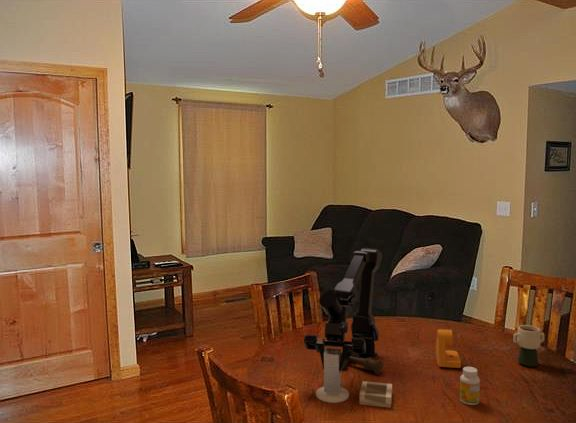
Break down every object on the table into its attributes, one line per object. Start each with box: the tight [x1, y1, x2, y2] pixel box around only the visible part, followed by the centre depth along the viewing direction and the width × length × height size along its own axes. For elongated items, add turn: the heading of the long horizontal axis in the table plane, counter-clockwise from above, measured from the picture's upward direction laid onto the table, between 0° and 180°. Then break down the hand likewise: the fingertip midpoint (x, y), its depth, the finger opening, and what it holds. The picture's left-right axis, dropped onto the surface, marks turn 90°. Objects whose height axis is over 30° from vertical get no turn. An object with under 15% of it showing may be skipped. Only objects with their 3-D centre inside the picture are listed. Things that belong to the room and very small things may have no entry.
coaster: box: [315, 386, 350, 404], centre depth 145 cm, size 10×10×1 cm
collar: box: [359, 380, 393, 408], centre depth 142 cm, size 9×9×3 cm
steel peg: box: [323, 347, 342, 394], centre depth 145 cm, size 4×4×12 cm
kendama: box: [341, 351, 384, 376], centre depth 166 cm, size 6×10×20 cm
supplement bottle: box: [459, 366, 481, 406], centre depth 140 cm, size 5×5×10 cm
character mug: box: [512, 324, 545, 367], centre depth 165 cm, size 11×7×13 cm, turn 92°
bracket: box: [435, 328, 462, 369], centre depth 167 cm, size 11×7×12 cm, turn 169°
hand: (331, 370), depth 143 cm, fingers closed on steel peg, 4 cm apart
